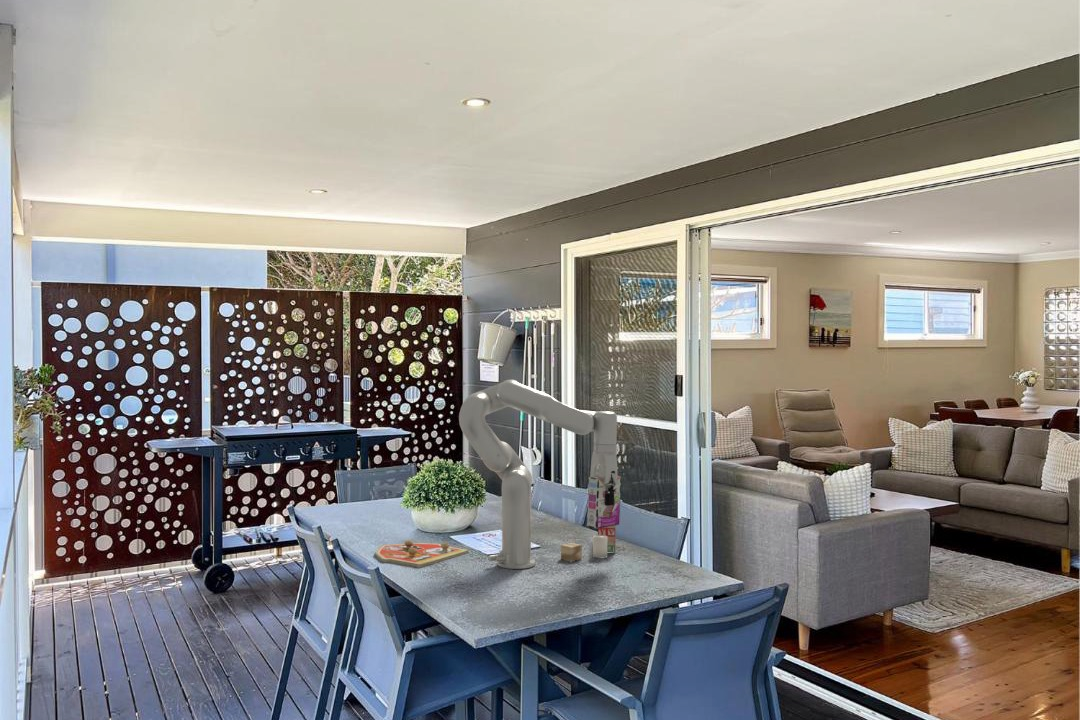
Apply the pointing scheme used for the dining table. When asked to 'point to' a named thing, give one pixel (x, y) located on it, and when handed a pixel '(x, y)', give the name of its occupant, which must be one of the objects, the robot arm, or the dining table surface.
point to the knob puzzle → (417, 553)
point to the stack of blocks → (609, 537)
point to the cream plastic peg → (599, 545)
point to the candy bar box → (602, 504)
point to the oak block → (571, 551)
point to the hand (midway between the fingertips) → (604, 503)
